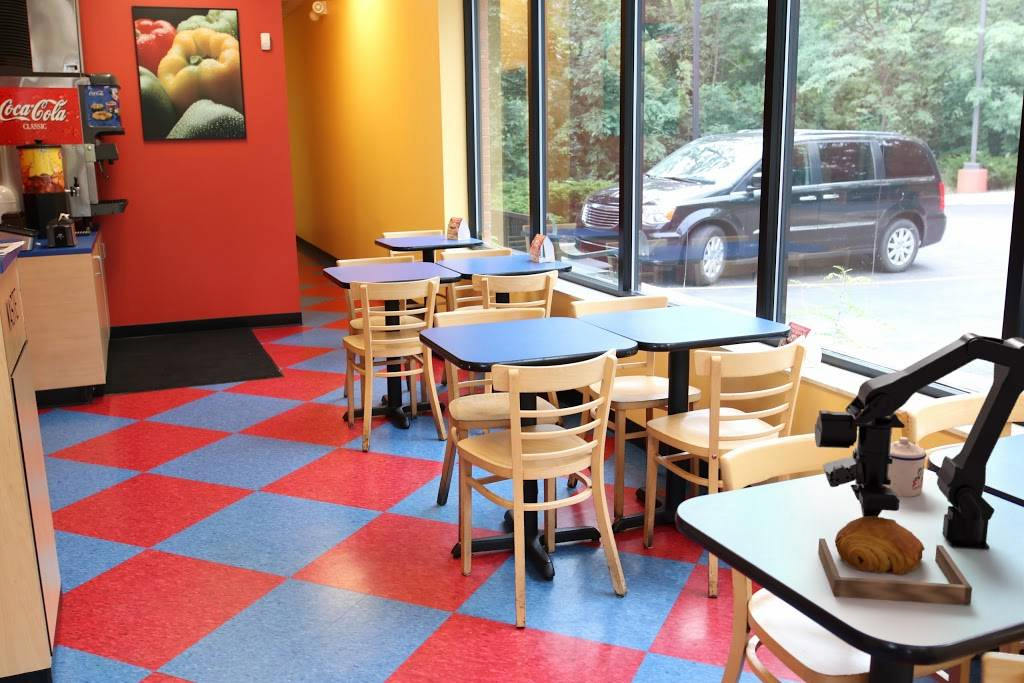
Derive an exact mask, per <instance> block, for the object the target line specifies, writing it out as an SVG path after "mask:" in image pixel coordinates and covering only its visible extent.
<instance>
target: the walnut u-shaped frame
mask: <svg viewBox="0 0 1024 683" xmlns="http://www.w3.org/2000/svg"><path fill="white" fill-rule="evenodd" d="M817 550H818V551H817V552H818V553H817V554H818V557H819V560H820V562H821V565H822V568H823V571H824V573H825V576H826V578H827V581H828V584H829V586H830V590H831V592H832V595H833V596H834V597H840V598H841V597H842V598H857V599H858V598H859V599H871V600H885V601H899V602H916V603H929V604H930V603H931V604H943V605H944V604H946V605H947V604H948V605H958V604H970V605H969V606H971V604H972V595H973V594H972V593H973V586H972V585H971V584H970V582H968V580H967V578H966V576H964V574H963V572H962V571H961V570H960V569H959V567H958V565H957V564H956V563H955V561H954V560H953V558H952V557H951V555H950V554H949V552H948V551H947V549H946V548H945V546H944V545H942V544H936V548H935V558H934V559H935V560H934V561H935V563H936V564H937V565H938V568H939V569H940V571H941V573H942V574H943V575H944V577H945V578H946V580H947V579H948V580H947V581H948V583H939V582H923V581H908V580H896V579H894V580H893V579H880V578H879V579H878V578H877V579H876V578H862V577H846V576H845V577H844V576H841V575H840V573H839V570H838V568H837V565H836V563H835V561H834V557H833V555H832V553H831V551H830V548H829V546H828V543H827V540H826V538H824V537H823V538H820V537H819V538H818V548H817Z"/></svg>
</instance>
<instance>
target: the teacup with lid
mask: <svg viewBox="0 0 1024 683" xmlns="http://www.w3.org/2000/svg"><path fill="white" fill-rule="evenodd" d="M890 456H891V457H892V464H889V473H888V476H889V478H890V479H891V483H890V485H883V486H886V487H887V488H891V489H892V490H893V491H894V492H895V493H896V495H897V497H906V498H907V497H909V498H910V497H916V496H919V495H920V494H922V493H923V486H924V485H923V483H924V472H925V461H926V457H927V452H926V451H925V449H924V448H922V447H921V446H918V445H917V444H914V443H913V442H910V439H909V437H907V436H901V437H899V438H898V440H895V441H893V442H891V448H890Z"/></svg>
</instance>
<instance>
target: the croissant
mask: <svg viewBox="0 0 1024 683" xmlns="http://www.w3.org/2000/svg"><path fill="white" fill-rule="evenodd" d="M835 536H836V537H835V540H834V542H835V544H834V545H835V547H836V551H837V553H838V555H839V557H840V559H841V560H842V561H843V562H844V563H846V564H847V565H848V566H849V567H851V568H854V569H855V570H858V571H860V570H861V571H865V572H873V573H877V572H879V573H880V574H881V573H882V574H885V573H887V574H889V575H893V576H901V575H903V574H907V573H910V572H912V571H913V570H915V569H916V568H917V567H918V566H919V565H920V564H921V562H922V559H923V552H924V551H925V546H924V544H923V543H922V541H921V539H919V538H918V537H917V536H916V535H914V533H913V532H912V531H910V530H908V529H907V528H905V526H902V525H900V524H899V523H898V522H896V520H894V519H892V518H886V517H881V516H866V517H863V516H862V517H861V516H860V517H858V518H856V519H853V520H850V521H849V522H848V523H847V524H846V525H844V526H843V527H842V528H840V530H838V532H837V534H836V535H835Z"/></svg>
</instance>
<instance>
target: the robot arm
mask: <svg viewBox="0 0 1024 683" xmlns="http://www.w3.org/2000/svg"><path fill="white" fill-rule="evenodd" d="M976 360H981V361H985V362H989V363H993V382H992V384H991V387H990V388H989V391H988V394H987V395H986V397H985V400H984V401H983V403H982V406H981V408H980V409H979V412H978V415H977V417H975V418H976V419H975V421H974V423H973V424H972V427H971V429H970V431H969V433H968V435H967V437H966V440H965V441H964V444H963V446H962V448H961V450H960V451H959V453H957V454H956V455H955V456H954V457H953V458H950V457H949V456H948V455H947V456H946V455H945V456H944V457H943V460H942V462H941V466H940V468H939V470H938V471H936V472H935V475H936V476H937V480H936V484H937V487H938V489H939V491H940V492H941V493H942V494H943V495H944V497H945V498H946V500H947V502H948V503H950V505H948V506H947V511H946V512H947V513H945V514H944V515H943V523H942V524H943V525H942V531H941V532H942V533H941V534H942V536H943V537H944V538H945V540H946V541H947V542H948V544H949V545H950V547H952V548H960V549H974V550H975V549H976V550H977V549H978V550H981V549H982V550H989V549H990V544H988V543H987V540H988V538H987V537H988V529H989V520H991V518H992V517H993V514H994V513H995V511H996V510H995V509H994V508H993V507H992V505H991V504H990V503H989V502H988V501H987V500H986V499H985V498H984V497H983V494H984V490H985V486H986V479H987V478H986V477H987V475H986V474H987V464H988V462H989V460H990V457H991V456H992V454H993V451H994V449H995V447H996V446H997V443H998V441H999V439H1000V437H1001V435H1002V432H1003V431H1004V429H1005V426H1006V424H1007V422H1008V420H1009V418H1010V416H1011V414H1012V412H1013V410H1014V409H1015V408H1014V407H1015V406H1016V404H1017V401H1018V400H1019V398H1020V396H1021V394H1022V393H1023V392H1024V338H1022V337H1011V338H1008V339H1002V338H999V337H998V338H997V337H993V336H985V335H978V334H975V333H973V332H967V333H965V334H963V335H961V337H959V338H958V339H956V340H954V341H953V342H951V343H949V344H947V345H946V346H943V347H941V348H939V349H937V351H934V352H933V353H931V354H929V355H927V356H926V357H924V358H922V359H919V360H918V361H915V362H914V363H912V364H911V365H909V366H907V367H905V368H903V369H901V370H898V371H896V372H891V373H886V374H885V373H884V374H882V375H879V376H877V377H872V378H870V379H867V380H865V381H864V382H862V383H861V385H860V386H859V389H858V392H857V395H856V396H855V397H854V398H853V400H851V402H850V403H849V404H848V405H847V406H846V407H845V411H830V410H826V409H825V410H819V411H818V416H817V418H816V423H815V424H814V440H815V445H816V447H817V448H828V449H829V448H833V449H835V448H836V449H839V448H840V449H850V448H851V447H854V445H855V444H856V442H857V446H856V448H854V450H852V455H851V456H850V457H845V458H840V459H836V460H833V461H828V462H826V463H824V464H823V465H822V467H823V468H822V469H823V471H824V473H825V476H826V480H827V482H828V484H829V487H830V488H836V487H839V486H840V485H841V486H842V485H844V484H848V483H851V482H854V481H855V482H854V483H855V484H850V488H851V490H852V491H853V493H854V496H855V498H856V499H857V501H858V502H859V504H860V509H861V514H862V517H866V516H878V517H880V514H881V513H882V511H891V512H893V511H894V512H897V511H899V510H900V498H899V496H897V495H896V493H895V492H894V491H893V490H892V489H891V488H887V487H886V486H883V485H890V483H891V479H890V478H889V476H888V473H889V464H892V457H891V456H890V448H891V443H892V436H893V435H892V433H893V429H904V428H905V426H906V425H905V424H904V422H902V421H901V419H900V418H899V417H898V415H897V414H896V413H895V412H896V411H898V410H899V409H900V408H902V407H903V406H904V405H905V404H906V403H907V402H908V401H909V400H910V399H911V398H912V396H914V395H915V393H917V392H918V391H920V390H922V389H924V388H925V387H927V386H929V385H931V384H933V383H936V382H937V381H939V380H941V379H942V378H944V377H946V376H948V375H949V374H952V373H953V372H955V371H957V370H959V369H961V368H962V367H964V366H966V365H968V364H970V363H972V362H973V361H976Z"/></svg>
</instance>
